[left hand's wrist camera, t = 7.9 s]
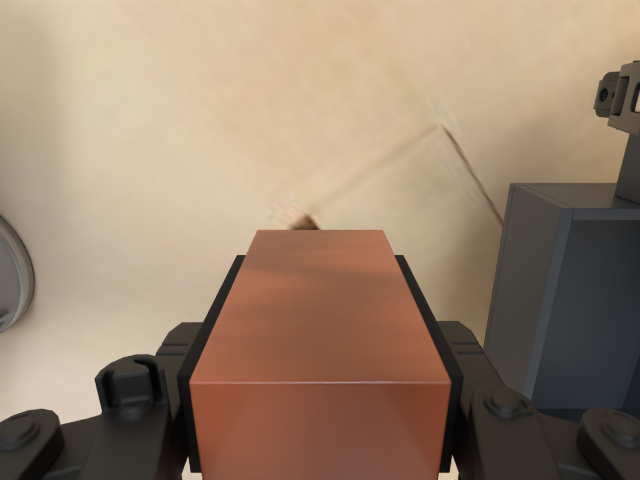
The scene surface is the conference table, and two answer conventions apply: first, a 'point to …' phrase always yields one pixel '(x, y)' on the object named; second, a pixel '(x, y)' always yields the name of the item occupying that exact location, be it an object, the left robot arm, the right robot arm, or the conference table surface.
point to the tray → (570, 294)
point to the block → (320, 367)
